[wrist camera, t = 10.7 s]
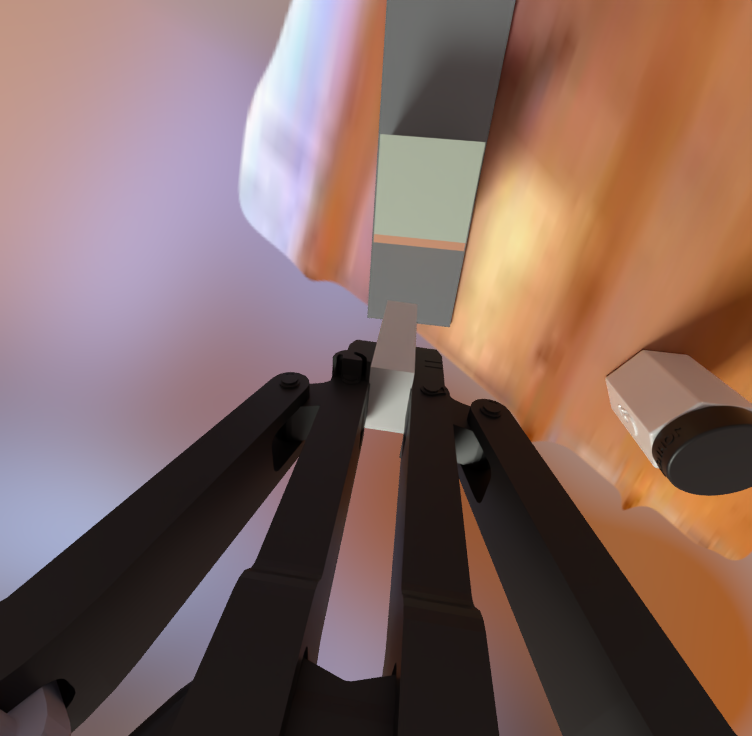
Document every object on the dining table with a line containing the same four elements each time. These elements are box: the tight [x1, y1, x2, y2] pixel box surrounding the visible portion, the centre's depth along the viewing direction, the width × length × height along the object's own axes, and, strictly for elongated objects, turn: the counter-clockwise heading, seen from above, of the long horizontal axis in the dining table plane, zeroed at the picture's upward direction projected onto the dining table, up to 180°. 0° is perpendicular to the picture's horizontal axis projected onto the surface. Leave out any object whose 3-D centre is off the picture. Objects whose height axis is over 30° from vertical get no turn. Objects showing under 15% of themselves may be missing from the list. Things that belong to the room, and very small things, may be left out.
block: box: [374, 134, 486, 251], centre depth 28 cm, size 7×7×7 cm
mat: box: [368, 0, 515, 327], centre depth 30 cm, size 28×9×1 cm, turn 176°
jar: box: [605, 350, 752, 496], centre depth 33 cm, size 9×8×12 cm
